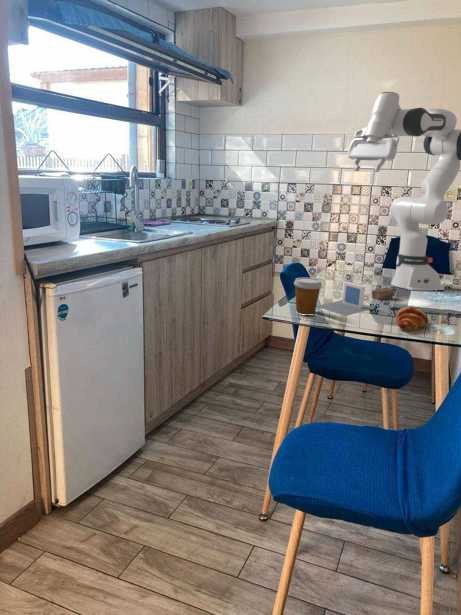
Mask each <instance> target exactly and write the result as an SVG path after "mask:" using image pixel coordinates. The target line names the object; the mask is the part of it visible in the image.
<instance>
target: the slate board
mask: <svg viewBox="0 0 461 615" xmlns="http://www.w3.org/2000/svg"><path fill="white" fill-rule="evenodd" d="M342 302H343V299H342V300H338V301H332V302H328V303H323V304H317V305H316V308H318V309H322V310H326V311H329V312H331V313H336V314H338V315H342V316H345V317H346V316H351V315H354V314H359V313H362V312H366V311H370V310H374V309H376V307H373V306H369V305H367V304H363V308H357V307H354V306H350V305H346V304H343V303H342Z"/></svg>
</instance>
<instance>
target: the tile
mask: <svg viewBox="0 0 461 615" xmlns="http://www.w3.org/2000/svg"><path fill="white" fill-rule="evenodd" d="M365 290H366V286H365V285H362V284H356V283H353V282H348V281H345V282H344V286H343V294H342V300H343V302H342V303H343V304H346V305H350V306H354V307H357V308H363V305H364V300H365V299H364V298H365V292H366V291H365Z"/></svg>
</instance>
